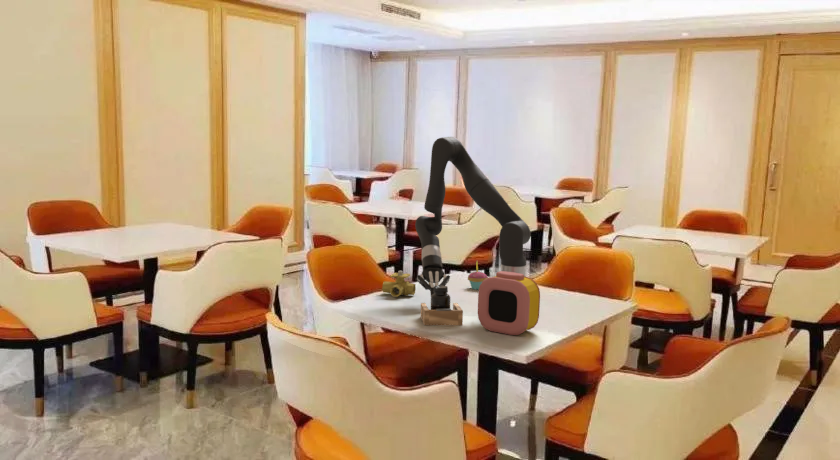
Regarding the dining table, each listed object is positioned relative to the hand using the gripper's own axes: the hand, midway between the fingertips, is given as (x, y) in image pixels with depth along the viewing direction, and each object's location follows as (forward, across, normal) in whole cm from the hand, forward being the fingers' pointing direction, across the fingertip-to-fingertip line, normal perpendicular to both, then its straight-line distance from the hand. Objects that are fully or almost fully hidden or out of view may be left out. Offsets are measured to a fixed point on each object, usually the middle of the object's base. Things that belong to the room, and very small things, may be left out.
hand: (435, 298), depth 269 cm
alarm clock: (+24, +20, -17) cm, 36 cm away
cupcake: (-24, +24, +30) cm, 45 cm away
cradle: (+14, 0, -8) cm, 16 cm away
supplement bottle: (+14, 0, -8) cm, 16 cm away
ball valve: (-14, -12, +20) cm, 27 cm away
